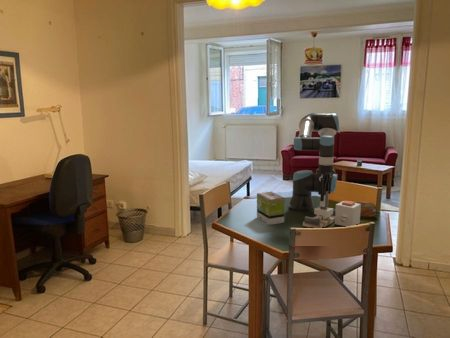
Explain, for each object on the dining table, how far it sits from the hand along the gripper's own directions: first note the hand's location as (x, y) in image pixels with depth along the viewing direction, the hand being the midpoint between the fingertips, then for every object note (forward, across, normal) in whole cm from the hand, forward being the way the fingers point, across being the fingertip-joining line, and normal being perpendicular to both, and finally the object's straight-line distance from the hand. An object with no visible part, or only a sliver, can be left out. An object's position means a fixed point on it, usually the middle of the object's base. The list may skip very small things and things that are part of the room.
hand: (324, 205), depth 215 cm
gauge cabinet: (+9, +5, -12) cm, 16 cm away
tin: (+9, +25, -13) cm, 29 cm away
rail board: (+9, -2, 0) cm, 9 cm away
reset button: (0, +5, -12) cm, 13 cm away
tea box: (+9, -18, +24) cm, 31 cm away
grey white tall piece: (+7, 0, 0) cm, 7 cm away
